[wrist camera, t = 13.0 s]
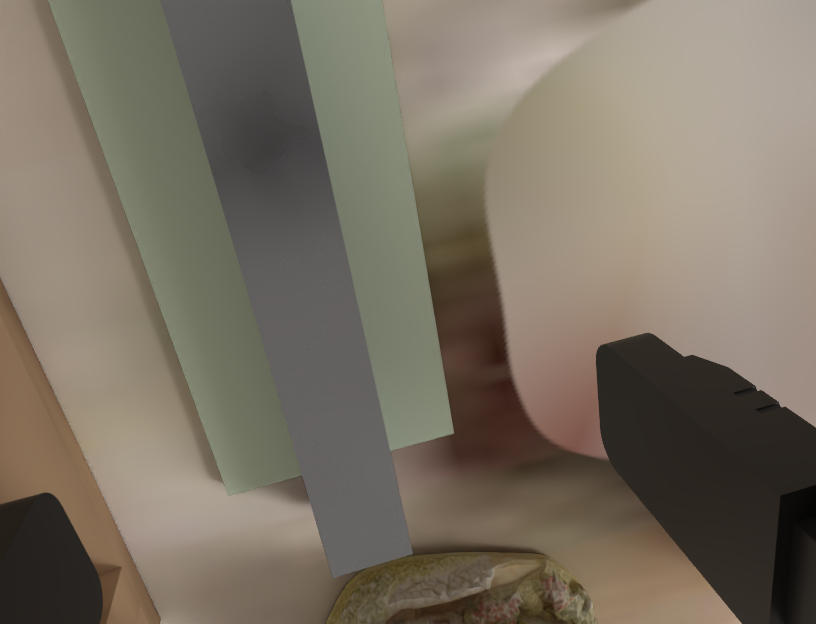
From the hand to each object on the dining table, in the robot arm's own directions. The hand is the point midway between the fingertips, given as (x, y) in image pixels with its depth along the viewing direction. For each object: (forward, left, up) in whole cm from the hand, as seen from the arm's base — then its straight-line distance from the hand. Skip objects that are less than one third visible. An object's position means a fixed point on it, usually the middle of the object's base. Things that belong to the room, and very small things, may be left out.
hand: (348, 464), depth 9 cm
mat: (0, 0, -13) cm, 13 cm away
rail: (0, 0, -13) cm, 13 cm away
